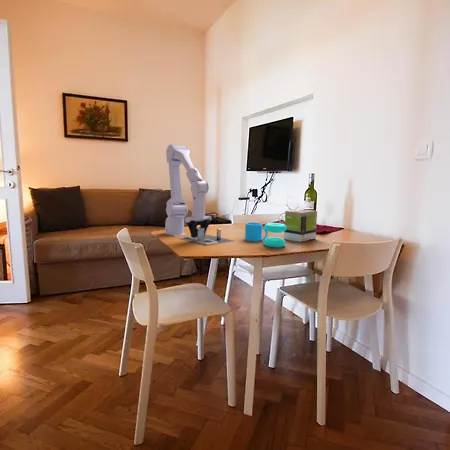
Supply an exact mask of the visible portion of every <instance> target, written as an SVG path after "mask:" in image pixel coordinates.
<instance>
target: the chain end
mask: <svg viewBox="0 0 450 450" xmlns="http://www.w3.org/2000/svg"><path fill="white" fill-rule="evenodd" d="M183 238H184V239H191V240H192V241H196V243H199V244H198V245H200V244H203V245H202V246H204V245H208V246H212V244H214V245H218V242H217V241H213V240H209V239H206V240H204V228H201V227H200V226H197V228H196V237H195V238H193V237H191V235H187V236H183ZM206 242H209V243H206ZM196 243H195V244H196Z"/></svg>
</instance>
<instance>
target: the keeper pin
mask: <svg viewBox="0 0 450 450" xmlns="http://www.w3.org/2000/svg"><path fill="white" fill-rule="evenodd" d="M216 237H217V238H216V240H221V238H222V229H221V228H216Z"/></svg>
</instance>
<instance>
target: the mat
mask: <svg viewBox="0 0 450 450" xmlns="http://www.w3.org/2000/svg"><path fill="white" fill-rule="evenodd" d="M216 238H217V235H216V236H215V235H212V234H211V235H210V234H205V236H204V240H206V239H209V240H213V241H217V242H218V244H225V243H231V242H235V240H233V239H229V238H224V237H221V240H216ZM178 240H182V241H185V242H189V243H194V244H197V245H201V246H203V247H204V246H205V247H207V246H209V245H203V244H199V243H196V241H192V240H191V239H184V237H180V238H178ZM206 243H209V242H206ZM218 244H217V245H218ZM212 245H215V244H212ZM212 245H211V246H212Z"/></svg>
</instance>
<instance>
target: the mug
mask: <svg viewBox="0 0 450 450" xmlns="http://www.w3.org/2000/svg"><path fill="white" fill-rule="evenodd" d="M244 226H245V228H244V232H245V233H244V240H245V241H247V242H262V241H264V240H265V239H266V238H268V237H269V236H268V231H266V230H265V228H264V226H263V224H262V223H260V222H246V223H245V225H244ZM263 231H264V233H265V236H264V238H263V237H262V235H263Z"/></svg>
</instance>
